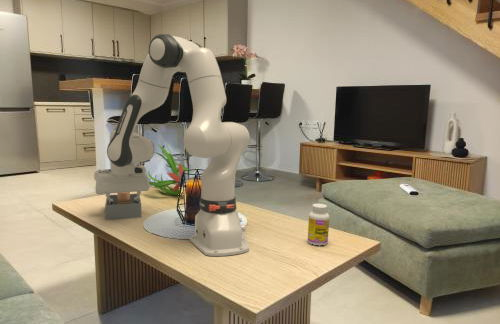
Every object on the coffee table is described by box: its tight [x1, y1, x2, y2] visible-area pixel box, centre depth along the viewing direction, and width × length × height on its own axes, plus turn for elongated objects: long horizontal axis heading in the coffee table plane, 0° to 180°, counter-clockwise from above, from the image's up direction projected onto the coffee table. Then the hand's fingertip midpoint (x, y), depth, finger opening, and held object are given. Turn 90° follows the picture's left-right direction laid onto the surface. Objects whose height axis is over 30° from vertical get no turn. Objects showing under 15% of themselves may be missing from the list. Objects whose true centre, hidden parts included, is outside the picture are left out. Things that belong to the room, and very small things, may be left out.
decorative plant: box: [147, 144, 190, 197], centre depth 182 cm, size 26×25×30 cm
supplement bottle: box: [307, 203, 330, 246], centre depth 121 cm, size 7×7×13 cm
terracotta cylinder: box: [116, 192, 131, 200], centre depth 154 cm, size 5×5×7 cm
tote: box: [104, 193, 142, 221], centre depth 151 cm, size 17×13×6 cm
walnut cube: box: [117, 200, 130, 205], centre depth 147 cm, size 5×5×5 cm
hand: (123, 202), depth 147 cm, fingers open, 8 cm apart
